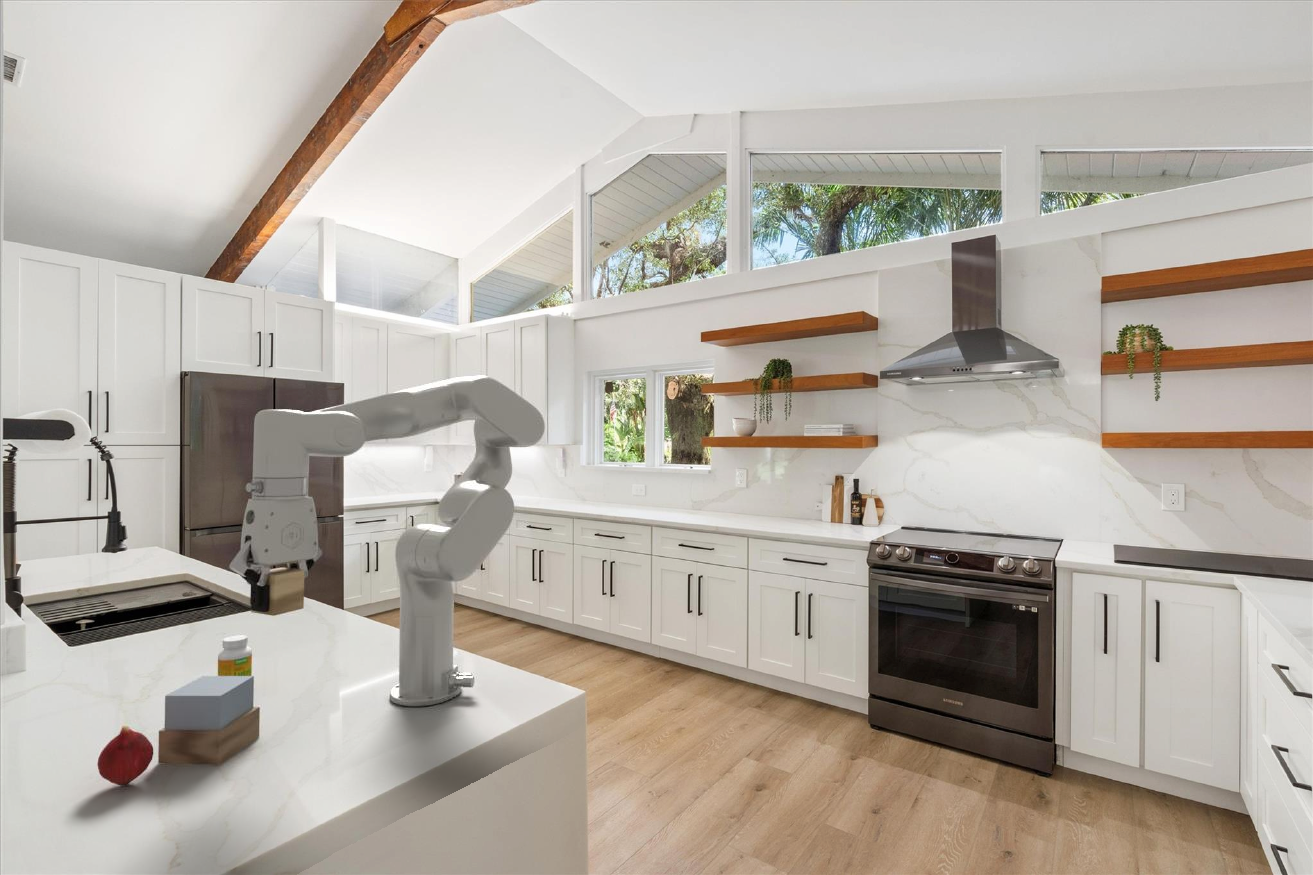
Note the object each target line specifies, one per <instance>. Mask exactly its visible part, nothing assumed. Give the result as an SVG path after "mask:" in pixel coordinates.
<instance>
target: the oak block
mask: <svg viewBox="0 0 1313 875" xmlns="http://www.w3.org/2000/svg"><path fill="white" fill-rule="evenodd" d="M259 572H260V570H259ZM304 572H305V570H300V569H291V568H288V567H284V566H283V567H277V568H270V572H269V575H268V579H267V582H266V585H269V587H270V597H269V610H268V612H258V611H252V610H251V609H250V613H252V614H253V613H254V614H259V615H266V616H273V617H274V616H279V615H283V614H287V613H290V612H291V613H292V612H295V611H298V610H303V609H304V606H305V605H304V604H305V599H304V598H305V595H304V594H305V578H304Z"/></svg>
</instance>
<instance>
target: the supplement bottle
mask: <svg viewBox="0 0 1313 875" xmlns="http://www.w3.org/2000/svg"><path fill="white" fill-rule="evenodd" d="M248 642H249V638H248V635H244V634H243V635H242V634H240V635H239V634H238V635H231V636H227V637H224V638H223V639H222V648H223V649H222V650H221V651H219V653H218V655H217V676H253V675H252V672H253V671H252V670H253V668H252V663H253V661H252V660H253V650H252V648H251V647H249V646H247V645H248Z"/></svg>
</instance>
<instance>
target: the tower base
mask: <svg viewBox="0 0 1313 875" xmlns="http://www.w3.org/2000/svg"><path fill="white" fill-rule="evenodd" d="M260 711H261V709H260V706H253V708H252V709H251V710H249V711H248V712H246V713H245V714H243V715H242V716H240V717H239V718H237V719H236V720H234V721H233V722H231V723H230V724H228V725H227V726H225V727H224V728H222V729H221V730H165V727H163V728H161V729H159V731H158V750H157V751H158V755H157V756H158V760H157V762H158V763H162V764H161V765H183V766H184V765H187V766H188V765H190V766H191V765H193V766H219V765H221V764H223V763H224V762H225V761H228V759H229V758H231V757H233V756H234V755H236V754H237V753H238V752H240V751H241V750H243V749H245V747H247V746H248V745H250V744H251V743H253V742H255V741H256V740H258V739H259V738H260V713H261V712H260ZM158 763H157V764H158ZM163 763H164V764H163Z"/></svg>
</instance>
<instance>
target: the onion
mask: <svg viewBox="0 0 1313 875" xmlns="http://www.w3.org/2000/svg"><path fill="white" fill-rule="evenodd" d="M153 758H154V746H153V744H152V742H151V741H150V740H149V739H148V737H146V735H144V734H143V733H141V732H139V731H134V730H132V728H130V727H129V726H128V725H122V727H121V730H120V731H119V734H117V735H116V736H115V737H114V738H112V739H111V740H110V741H109V742H108V743H107V744H106V746H104V748H103V749H102V751H101V752H100V754H99V756H98V760H97V769H98V773H99V775H100V776H101V778H103V779H104V780H106V781H109V782H110V783H112V784H115V785H118V786H120V787H125V786H128V785H129V784H131V783H132V782H133V781H135V780H136V779H137V778H139V777H140V776H141V775H143V773H144V772H145V771H146V770H148V767H149V766H150V764H151V762H152V760H153Z"/></svg>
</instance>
